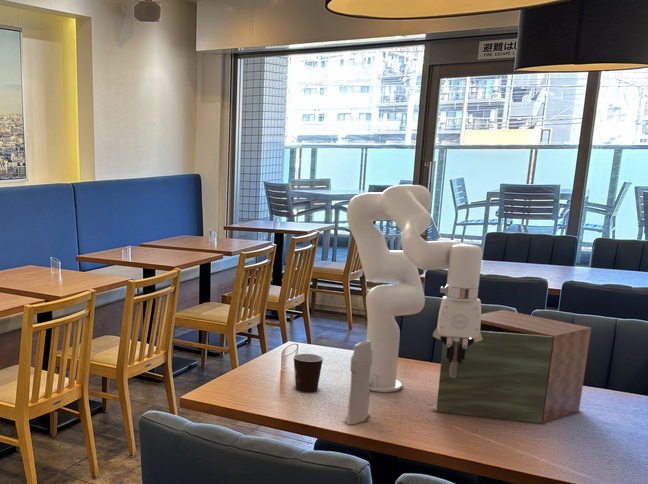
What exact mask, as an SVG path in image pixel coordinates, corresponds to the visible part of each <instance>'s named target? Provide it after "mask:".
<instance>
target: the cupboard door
mask: <svg viewBox="0 0 648 484" xmlns="http://www.w3.org/2000/svg"><path fill="white" fill-rule="evenodd" d="M480 332H481V335H482V338H483V339H482V340H481V341H478V342H474V343H472V344H471V345H469V346H468V347H467V348H466V349H465V358H464V360H462V362H461V363H458V354H459V347H460V344H462V338H459V337H452V346H453V355H452V362H451V363H450V362H449V361H448V358H446V351H447V346H446V345H445V344H444V343H443V342H442V350H441V357H440V359H441V360H440V368H439V380H438V390H437V398H436V399H437V400H436V411H435V412H440V413H447V414H455V415H463V416H464V415H465V416H472V417H481V418H489V419H499V420H509V421H518V422H524V423H525V422H526V423H534V424H542V423H543V422H542V415H543V408H544V400H545V393H546V386H547V378H548V371H549V363H550V356H551V349H552V341H553V336H542V335H529V334H516V333H502V332H489V331H480ZM445 337H446V336H445Z"/></svg>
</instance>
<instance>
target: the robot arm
mask: <svg viewBox="0 0 648 484" xmlns="http://www.w3.org/2000/svg"><path fill="white" fill-rule="evenodd" d="M432 200H433V199H432V194H431V191H429V189H428V188H427V187H425V186H423V185H421V184H407V185H406V184H403V185H402V184H401V185H400V184H399V185H398V184H397V185H392V186H389V187H387V188H386V189H384V190H383V192H365V193H360V194H356V195H355V196H353V197H352V198H351V199H350V200H349V202H348V205H347V208H346V221H347V225H348V228H349V230H350V233H351V235H352V237H353V239H354V241H355V244H356V248H357V252H358V256H359V260H360V264H361V268H362V272H363V274H364V277H365V279H366V280H367V281H368V282H371V283H375V284H376V283H379V285H376V286H374V287H372V288H371V289H369V290H368V291H367V294H366V296H365V307H366V316H367V317H366V318H367V327H366V341H367V340H370V342H371V350H372V351H373V353H372V365H371V369H370V379H369V391H372V392H378V393H391V392H398V391H400V390H401V389H402V383H401V382H400V381H399V380H397V376H398V364H399V351H400V341H401V340H400V339H401V330H400V326H399V324H398V323H397V321H396V318H395V317H398V316H412V315H417V314H419V313H420V312H422V311H423V309H424V307H425V304H426V303H425V302H426V299H425V298H426V297H425V292H424V288H423V287H424V286H423V283H422V279H421V276H420V273H419V269H420V270H422V271H433V270H437V271H438V270H447V279H446V285H445V286H441V287H439V288H440V289H439V293H442V294H444V296H442V299H441V302H440V307H439V310H438V317H437V324H436V327H435V329H434V331H433V333H432V337H433V338H434V339H437V340H440V341H441V342H442V344H443V343H444V344H445V345H446V346H447V351H446V358H448V361H449V362H450V363H451V362H452V355H453V346H452V337H459V338H462V344H460V347H459V354H458V363H461V362H462V360H464V358H465V349H466V348H467V347H468V346H469V345H471V344H472V343H474V342H478V341H481V340H482V339H483V338H482V335H481V332H480V326H481V314H482V300H481V299H480V298H478V296H479V287H480V277H481V267H482V261H483V249H482V247H481V246H479V245H475V244H470V243H469V244H467V243H465V242H463V241H460V240H455V239H453V240H452V239H451V240H430V241H429V240H428V241H427V240H425V239H424V238H423V237H422V236H421V235H422V234H423V233H425V232H426V231H427V230H428V229H429V227H430V225H431V223H432V215H431V213H430V211H429V210H430V208H431V206H432V204H433V203H432V202H433V201H432ZM380 221H381V222H382V221H384V222H385V221H393V222H394V223H395V225H396V226H397V227H398V228H399V229H400V231H401V233H400V245H401V249H402V250H390V249H389V247H388V245H387V241H386V237H385V235H384V233H383V232H382V230H381V229H379V227H378V226H377V225H375V224H374V222H380ZM394 282H395V283H394ZM380 283H391V284H381V285H380ZM445 336H446V337H445Z"/></svg>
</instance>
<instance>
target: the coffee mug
mask: <svg viewBox="0 0 648 484" xmlns="http://www.w3.org/2000/svg"><path fill="white" fill-rule="evenodd" d="M323 361H324V358H323V356H321V355H318V354H314V353H298V354H295V355H294V356H293V365H294V378H295V379H294V381H295V382H294V383H295V390H296V391H298V392H301V393H316V392H317V391H318V388H319V383H320V376H321V371H322V366H323Z"/></svg>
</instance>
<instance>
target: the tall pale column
mask: <svg viewBox="0 0 648 484" xmlns="http://www.w3.org/2000/svg"><path fill="white" fill-rule="evenodd" d="M372 353H373V351H372V350H371V342H370V340H367V339H366V340H361V341H360V342H357V343H355V345H354V348H353V353H352V355H351V358H350V370H349V371H350V389H349V396H348V405H347V418H346V419H347V420H346V421H347V422H346V423H347V425H356V424H358V423H363V422H365V421H366V419H367V418H368V416H369V406H370V405H369V404H370V390H369V379H370V369H371V365H372Z"/></svg>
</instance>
